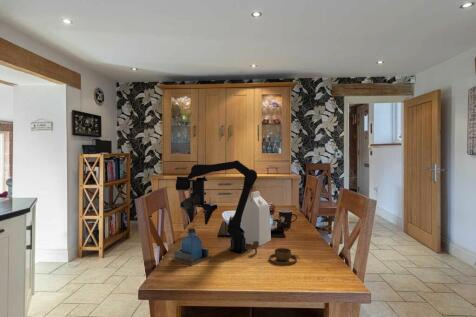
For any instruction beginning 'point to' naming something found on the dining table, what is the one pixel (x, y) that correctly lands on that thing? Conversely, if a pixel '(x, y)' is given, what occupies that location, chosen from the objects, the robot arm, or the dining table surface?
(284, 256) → the place setting
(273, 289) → the dining table surface
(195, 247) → the perfume bottle
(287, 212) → the coffee mug
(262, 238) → the milk
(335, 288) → the dining table surface
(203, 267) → the dining table surface
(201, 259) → the grey square tray
